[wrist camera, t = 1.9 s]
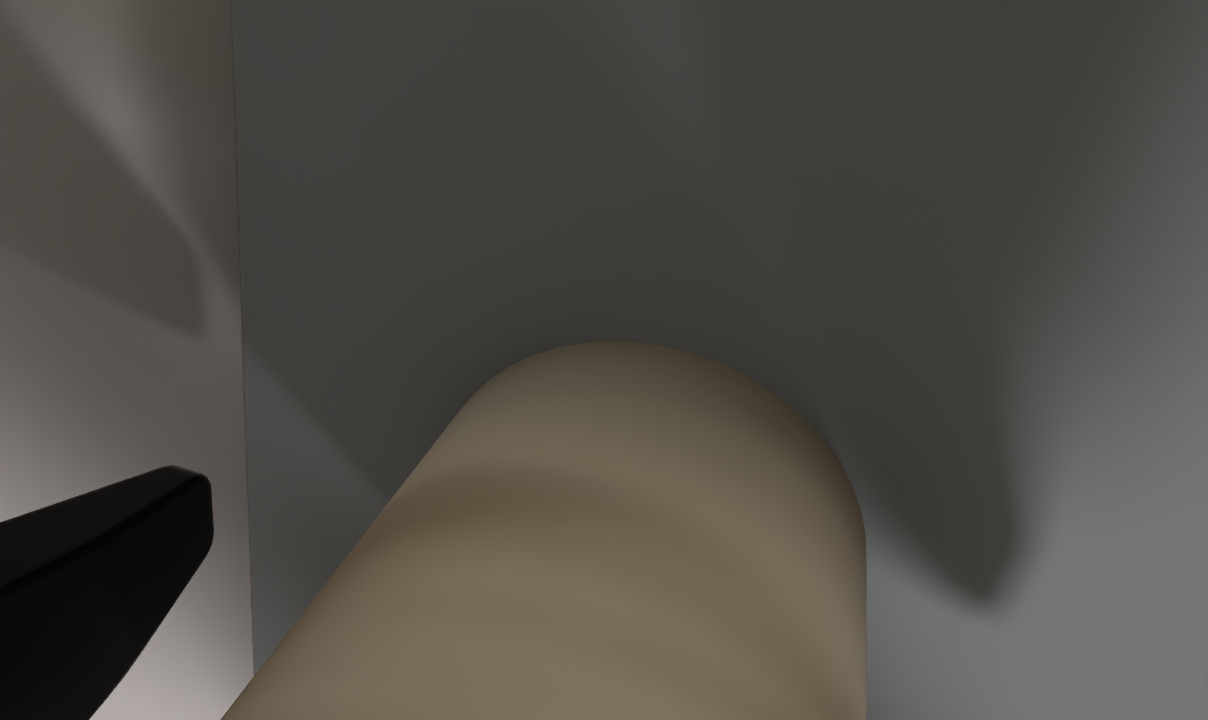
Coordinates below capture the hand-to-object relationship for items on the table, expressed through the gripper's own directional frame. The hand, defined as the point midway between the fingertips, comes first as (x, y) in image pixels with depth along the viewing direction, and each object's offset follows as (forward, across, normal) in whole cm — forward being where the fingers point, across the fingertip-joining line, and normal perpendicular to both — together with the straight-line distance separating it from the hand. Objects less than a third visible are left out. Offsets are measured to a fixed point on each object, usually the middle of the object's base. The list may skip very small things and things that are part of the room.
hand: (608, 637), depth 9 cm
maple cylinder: (+2, 0, 0) cm, 2 cm away
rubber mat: (+2, -2, -7) cm, 8 cm away
